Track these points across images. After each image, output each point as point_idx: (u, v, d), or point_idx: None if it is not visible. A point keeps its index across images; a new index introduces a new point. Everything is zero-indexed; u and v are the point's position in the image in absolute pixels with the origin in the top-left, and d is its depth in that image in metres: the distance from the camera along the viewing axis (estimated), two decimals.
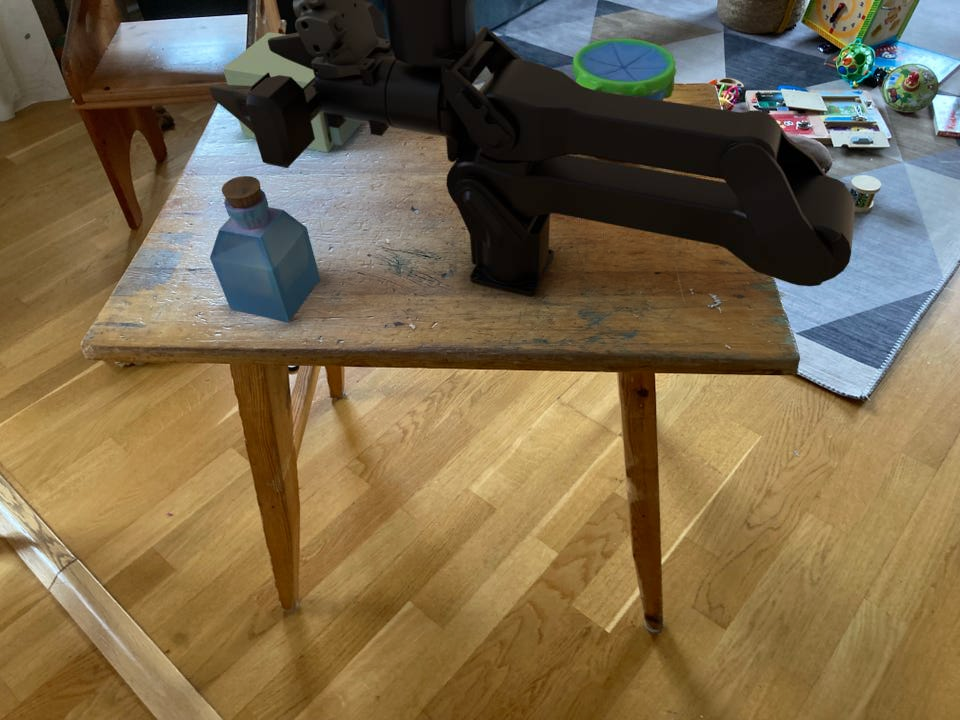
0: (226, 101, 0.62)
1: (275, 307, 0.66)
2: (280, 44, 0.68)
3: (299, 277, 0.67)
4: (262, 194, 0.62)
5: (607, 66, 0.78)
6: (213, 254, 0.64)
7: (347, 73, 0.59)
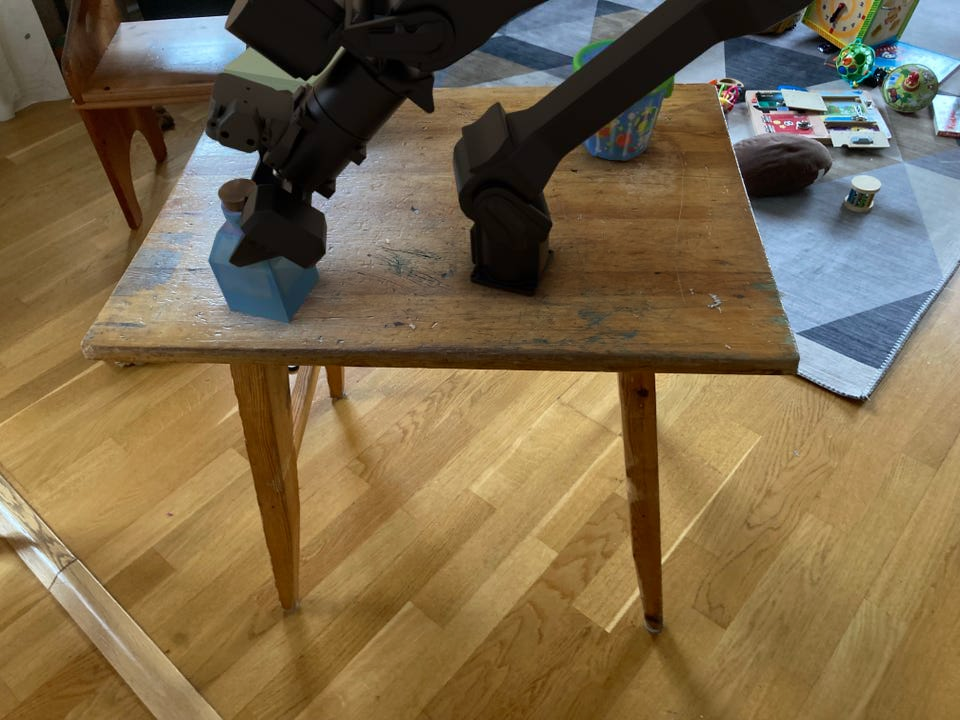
0: (247, 256, 0.61)
1: (275, 309, 0.66)
2: None
3: (298, 277, 0.67)
4: None
5: None
6: (211, 257, 0.64)
7: (292, 138, 0.56)
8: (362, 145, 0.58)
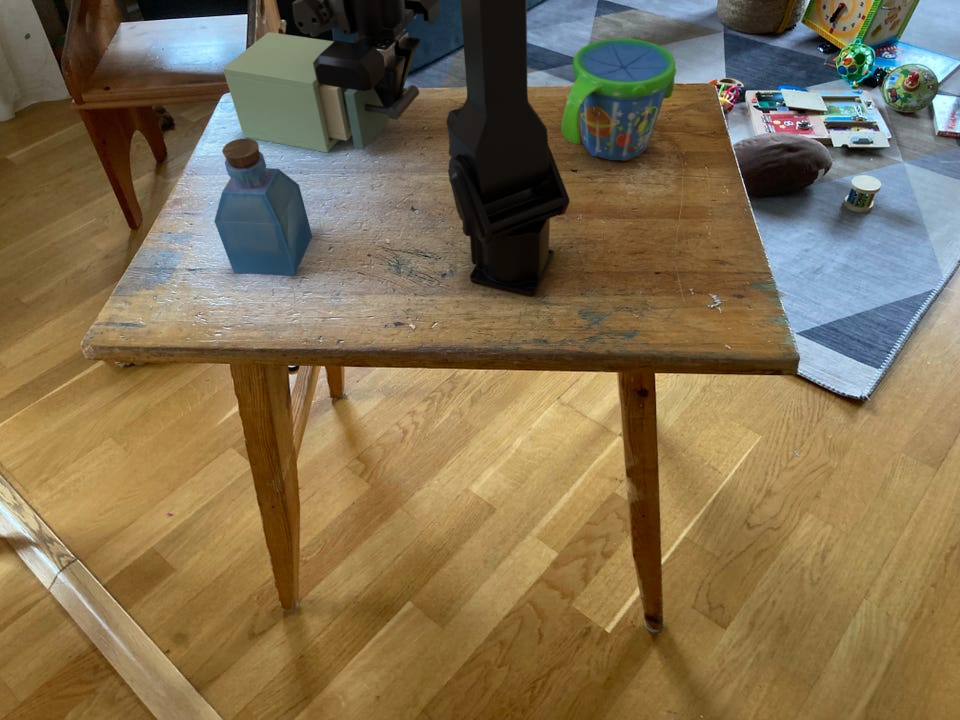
0: (386, 97, 0.82)
1: (280, 262, 0.71)
2: None
3: (297, 232, 0.72)
4: (259, 154, 0.67)
5: (607, 66, 0.78)
6: (217, 217, 0.68)
7: (341, 3, 0.74)
8: None
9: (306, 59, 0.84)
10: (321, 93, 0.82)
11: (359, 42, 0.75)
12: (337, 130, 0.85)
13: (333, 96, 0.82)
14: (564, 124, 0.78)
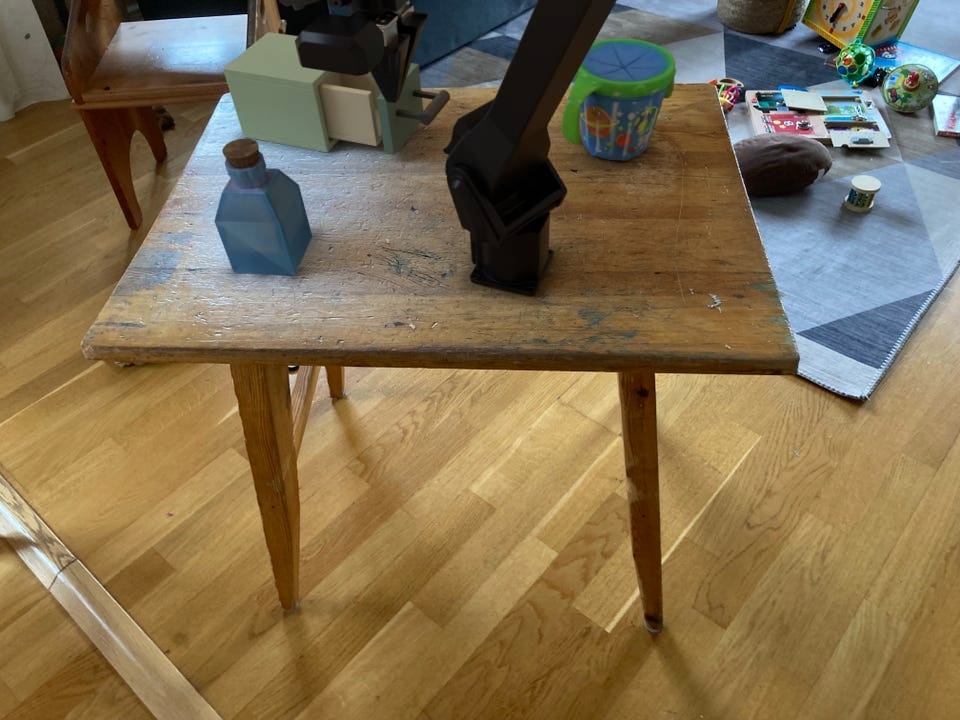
0: (386, 86, 0.68)
1: (280, 262, 0.71)
2: None
3: (297, 232, 0.72)
4: (259, 154, 0.67)
5: (607, 66, 0.78)
6: (217, 217, 0.68)
7: None
8: None
9: None
10: (352, 98, 0.81)
11: (353, 16, 0.60)
12: (367, 135, 0.84)
13: (364, 101, 0.81)
14: (564, 124, 0.78)
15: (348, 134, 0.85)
